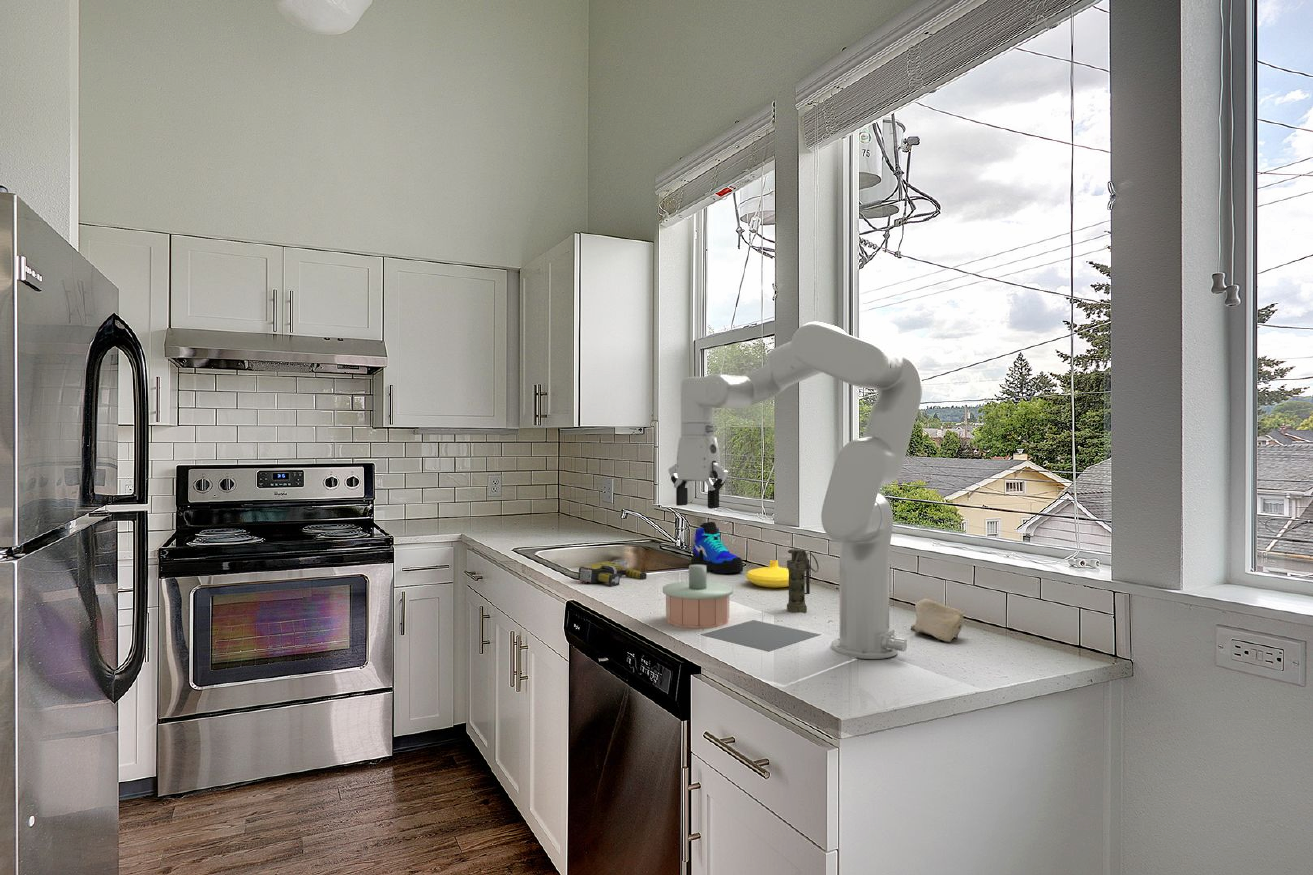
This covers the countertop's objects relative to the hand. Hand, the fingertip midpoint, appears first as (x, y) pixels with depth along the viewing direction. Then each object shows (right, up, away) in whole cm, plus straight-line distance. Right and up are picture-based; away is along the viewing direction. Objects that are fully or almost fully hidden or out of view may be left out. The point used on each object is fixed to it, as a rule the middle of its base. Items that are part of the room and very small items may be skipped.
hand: (697, 506), depth 177 cm
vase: (+24, -26, +43) cm, 56 cm away
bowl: (0, -26, 0) cm, 26 cm away
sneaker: (+9, -26, +68) cm, 74 cm away
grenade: (+26, -26, +10) cm, 38 cm away
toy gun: (-20, -27, +54) cm, 63 cm away
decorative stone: (+50, -27, -12) cm, 58 cm away
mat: (+13, -26, -13) cm, 32 cm away
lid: (0, -19, 0) cm, 19 cm away
